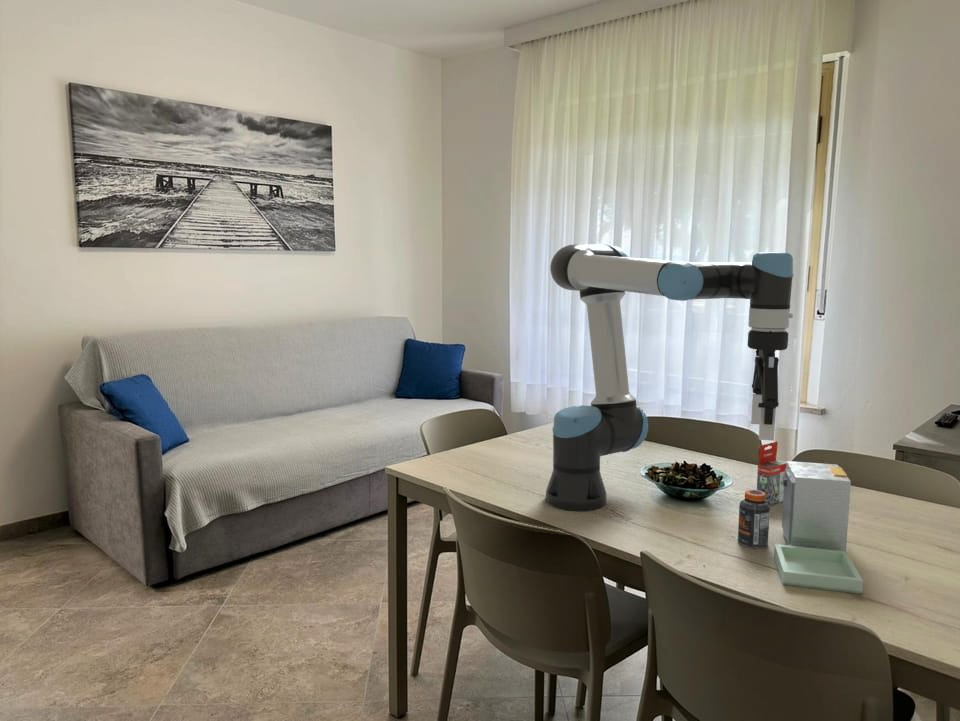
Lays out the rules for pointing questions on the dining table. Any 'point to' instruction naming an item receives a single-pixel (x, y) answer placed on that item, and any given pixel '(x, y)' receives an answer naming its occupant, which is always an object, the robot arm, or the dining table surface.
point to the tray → (817, 569)
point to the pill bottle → (753, 520)
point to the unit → (815, 505)
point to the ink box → (770, 474)
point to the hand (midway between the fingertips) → (761, 431)
